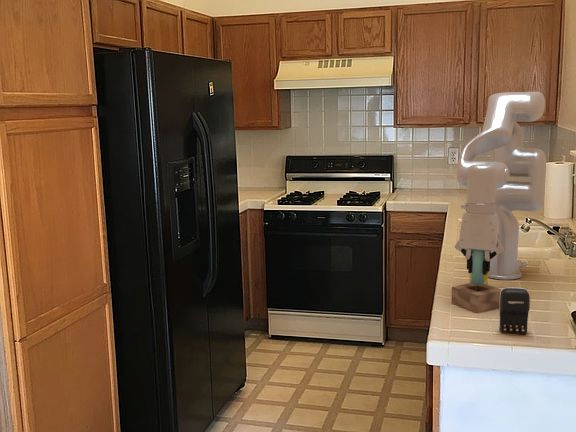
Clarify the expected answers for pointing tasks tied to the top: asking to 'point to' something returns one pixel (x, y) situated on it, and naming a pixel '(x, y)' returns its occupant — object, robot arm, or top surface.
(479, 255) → the dowel
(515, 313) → the battery charger
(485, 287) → the socket block
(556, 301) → the top surface
